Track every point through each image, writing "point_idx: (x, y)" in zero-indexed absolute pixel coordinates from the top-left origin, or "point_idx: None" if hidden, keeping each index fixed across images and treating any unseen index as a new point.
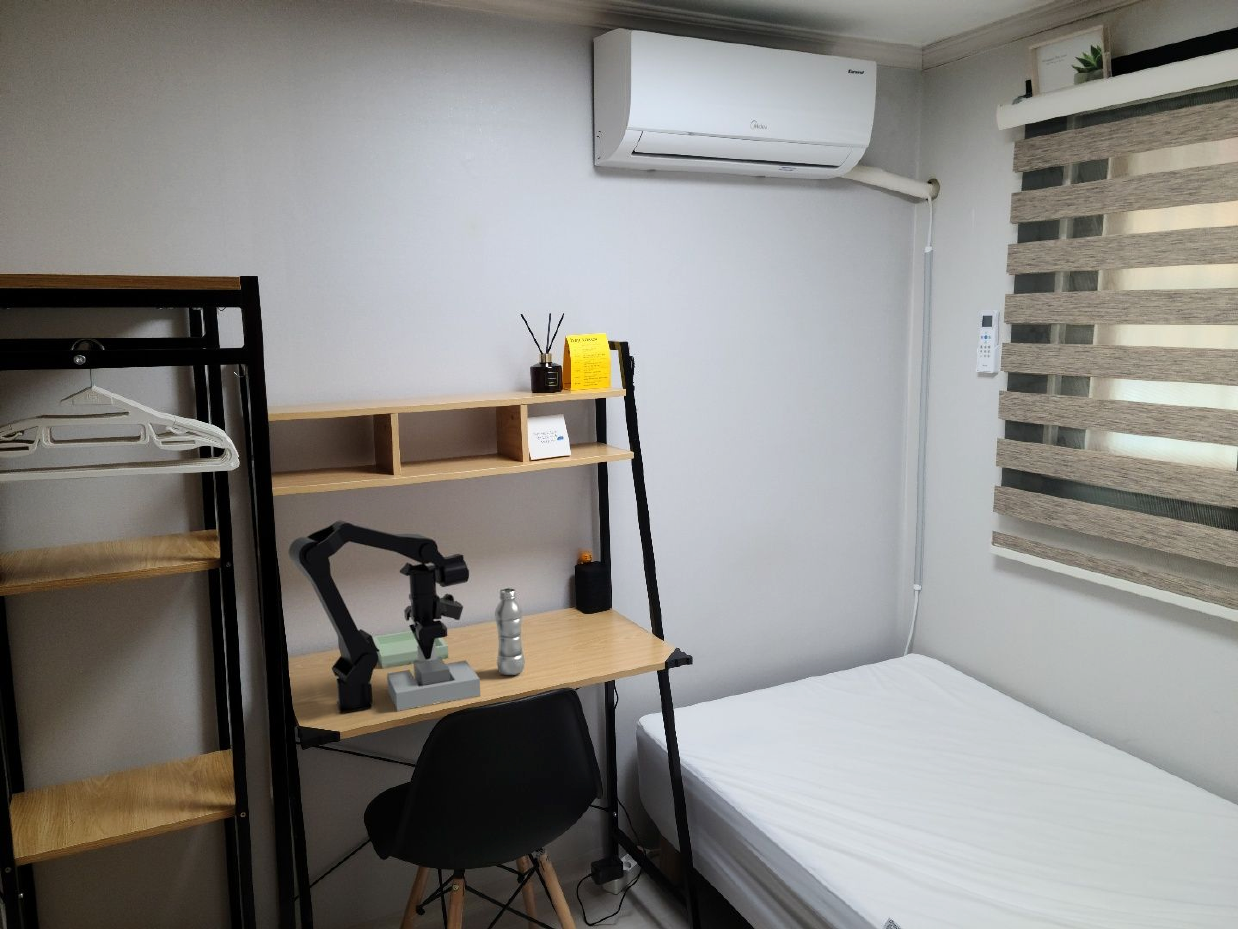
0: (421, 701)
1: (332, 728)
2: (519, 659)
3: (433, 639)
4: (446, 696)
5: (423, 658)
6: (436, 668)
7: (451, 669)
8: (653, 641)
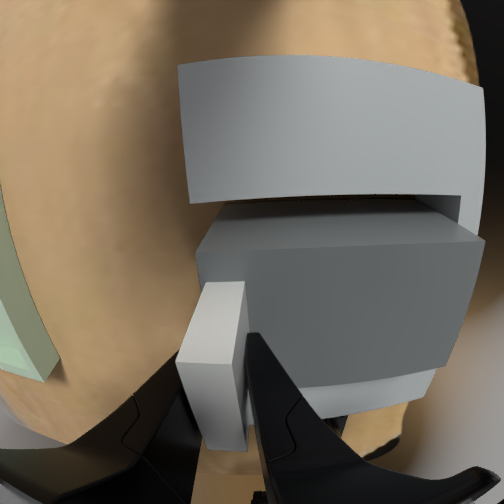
0: None
1: (387, 439)
2: None
3: (347, 454)
4: None
5: None
6: (431, 305)
7: (309, 176)
8: None
